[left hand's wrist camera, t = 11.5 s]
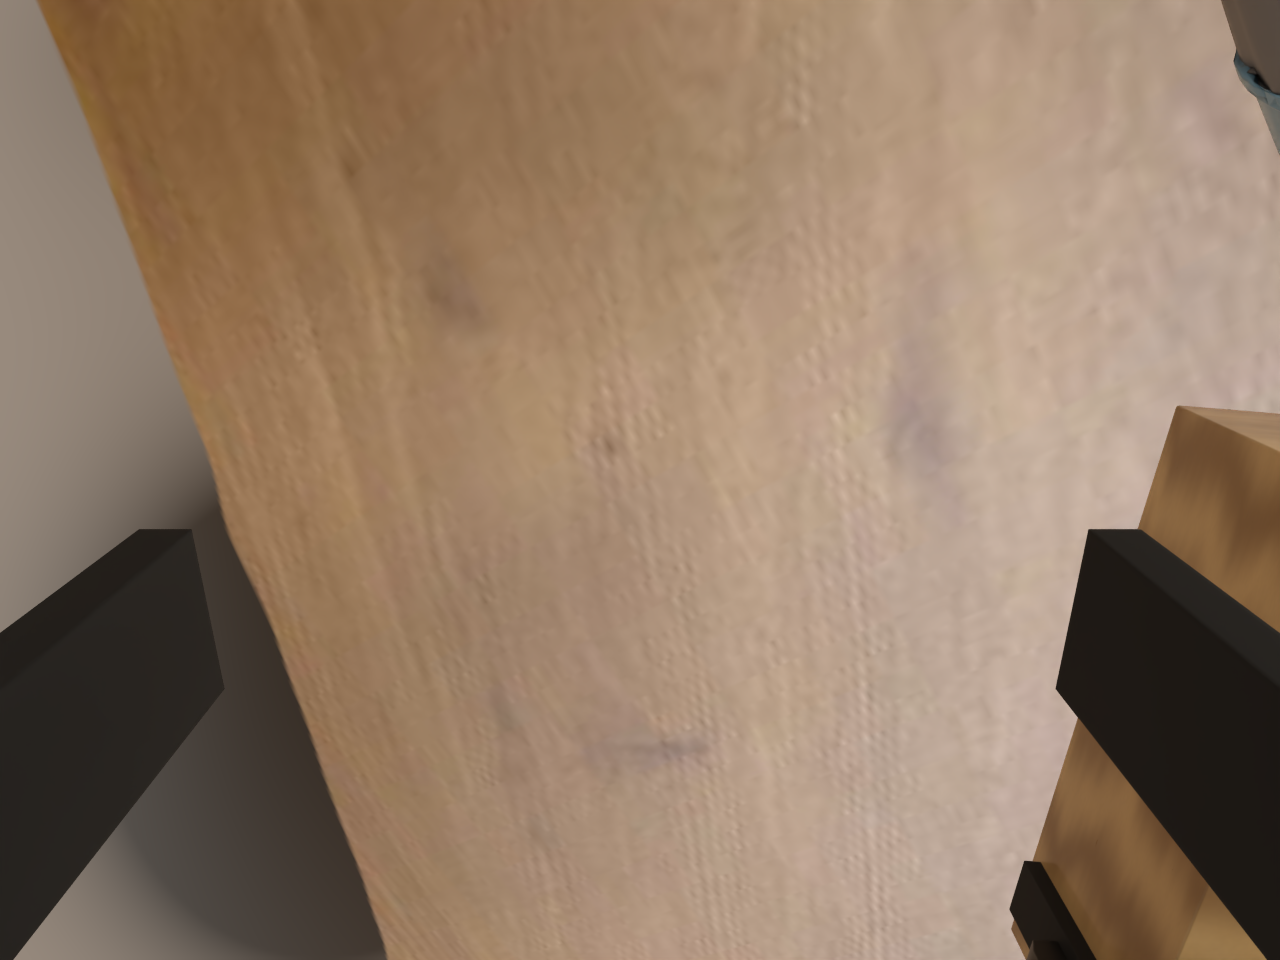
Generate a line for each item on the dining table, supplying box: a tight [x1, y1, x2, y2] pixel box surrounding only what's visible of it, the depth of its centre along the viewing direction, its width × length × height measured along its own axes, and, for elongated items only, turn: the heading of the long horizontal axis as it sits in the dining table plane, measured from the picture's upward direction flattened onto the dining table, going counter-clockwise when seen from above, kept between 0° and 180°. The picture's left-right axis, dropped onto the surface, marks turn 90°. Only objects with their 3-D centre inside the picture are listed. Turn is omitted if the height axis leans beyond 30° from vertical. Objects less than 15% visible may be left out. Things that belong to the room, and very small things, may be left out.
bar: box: [1011, 406, 1280, 960], centre depth 30 cm, size 24×5×8 cm, turn 175°
